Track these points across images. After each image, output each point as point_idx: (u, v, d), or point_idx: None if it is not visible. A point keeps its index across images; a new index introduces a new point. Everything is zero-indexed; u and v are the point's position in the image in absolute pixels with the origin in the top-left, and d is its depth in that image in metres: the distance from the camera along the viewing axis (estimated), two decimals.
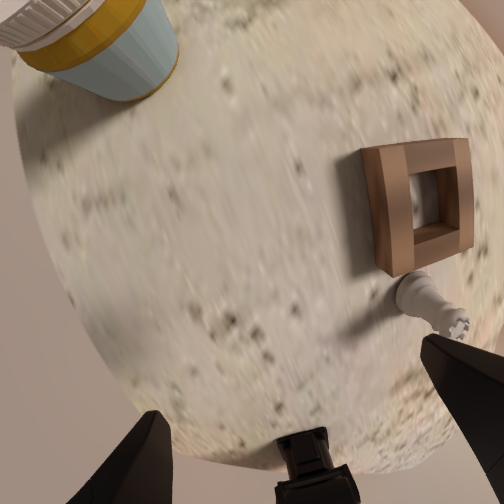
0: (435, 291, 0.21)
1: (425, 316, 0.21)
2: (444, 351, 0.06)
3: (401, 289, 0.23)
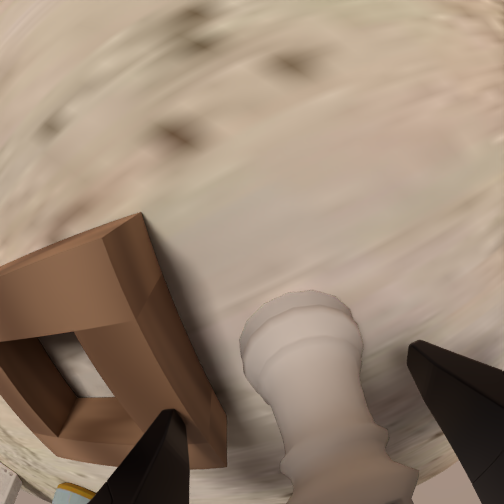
0: (273, 393, 0.07)
1: None
2: (429, 359, 0.06)
3: None
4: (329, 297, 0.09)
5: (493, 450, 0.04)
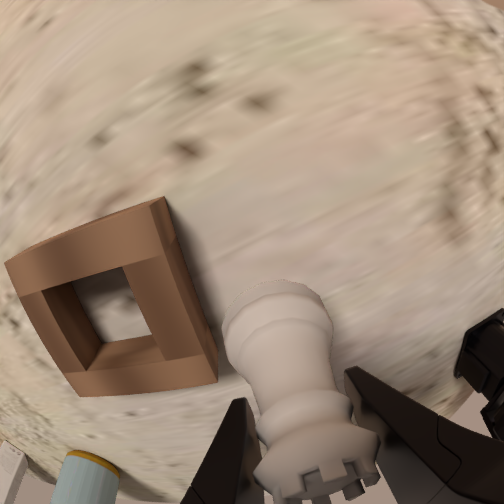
0: (249, 370, 0.09)
1: None
2: (358, 390, 0.06)
3: None
4: (298, 286, 0.11)
5: (422, 497, 0.04)
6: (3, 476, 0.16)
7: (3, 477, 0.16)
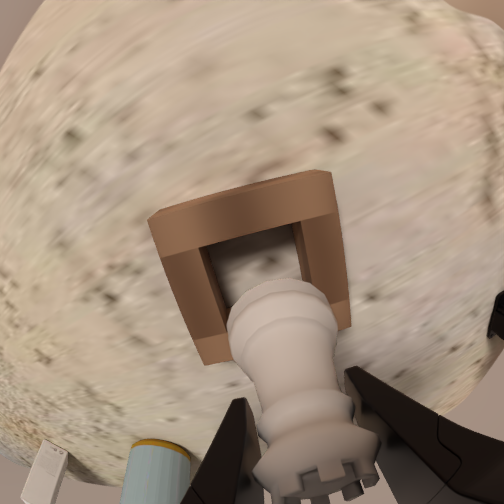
0: (253, 368, 0.09)
1: None
2: (359, 390, 0.06)
3: None
4: (304, 284, 0.11)
5: (422, 497, 0.04)
6: (46, 479, 0.19)
7: (45, 480, 0.19)
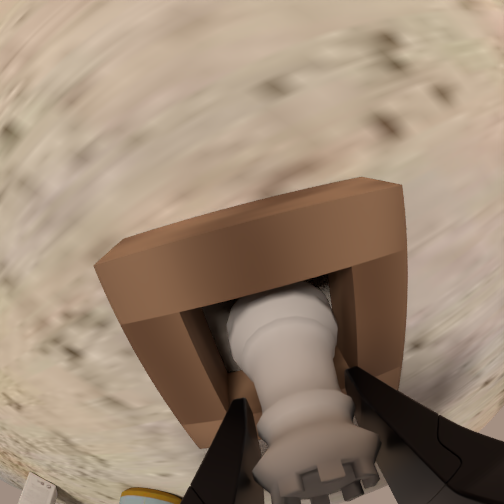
0: (253, 368, 0.09)
1: None
2: (359, 390, 0.06)
3: None
4: (304, 284, 0.11)
5: (423, 497, 0.03)
6: None
7: None
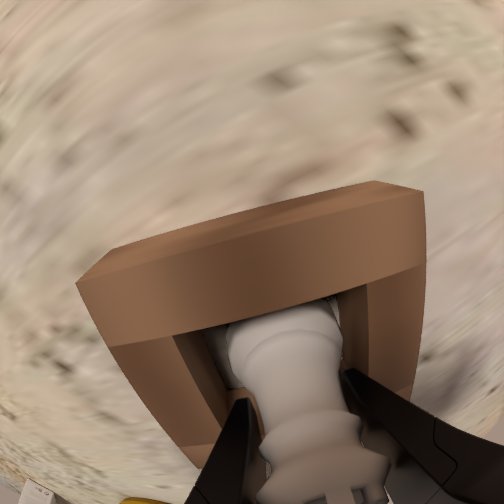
0: (254, 385, 0.08)
1: None
2: (355, 391, 0.06)
3: None
4: None
5: (419, 499, 0.03)
6: None
7: None
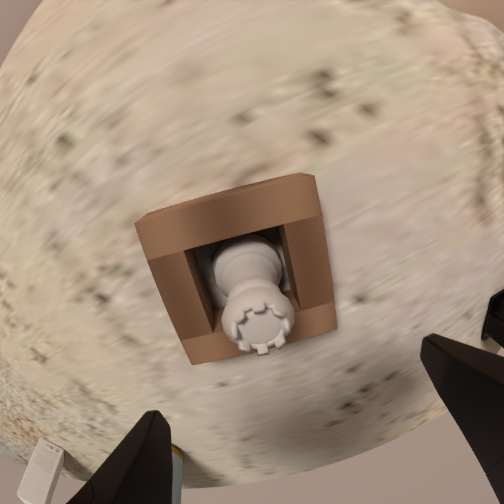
0: (226, 281, 0.16)
1: None
2: (444, 351, 0.06)
3: None
4: (259, 237, 0.18)
5: None
6: (42, 476, 0.19)
7: (41, 477, 0.19)
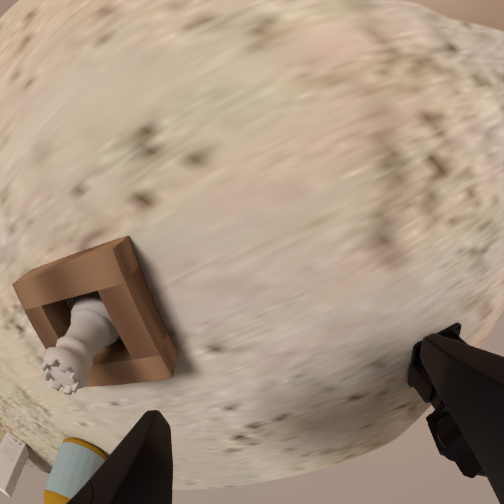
0: None
1: None
2: (444, 351, 0.06)
3: None
4: None
5: None
6: (6, 464, 0.20)
7: (6, 465, 0.19)
